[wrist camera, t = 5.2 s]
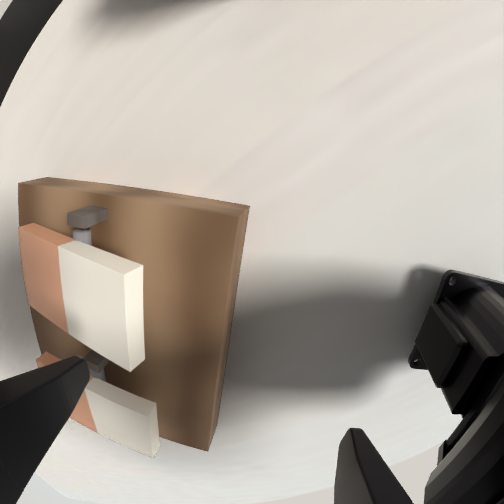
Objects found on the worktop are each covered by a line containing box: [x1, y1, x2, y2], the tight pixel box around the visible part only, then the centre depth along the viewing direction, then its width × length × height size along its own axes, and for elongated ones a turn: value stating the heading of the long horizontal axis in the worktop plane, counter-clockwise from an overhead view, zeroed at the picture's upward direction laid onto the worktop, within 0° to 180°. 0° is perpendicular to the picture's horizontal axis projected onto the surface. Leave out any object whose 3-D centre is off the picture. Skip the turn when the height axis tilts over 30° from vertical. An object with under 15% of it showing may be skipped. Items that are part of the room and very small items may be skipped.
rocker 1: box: [18, 223, 145, 372], centre depth 14 cm, size 9×6×2 cm, turn 81°
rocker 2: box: [36, 351, 160, 458], centre depth 17 cm, size 9×6×2 cm, turn 81°
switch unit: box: [18, 177, 250, 451], centre depth 18 cm, size 15×18×5 cm
